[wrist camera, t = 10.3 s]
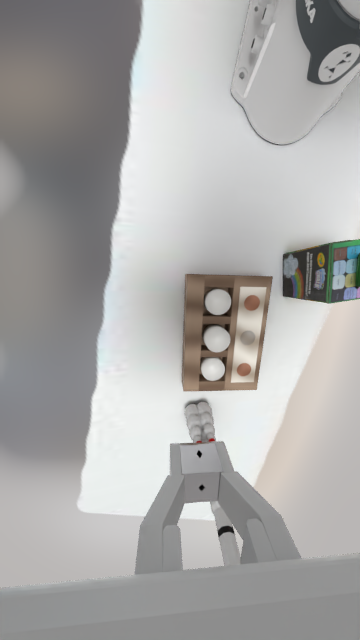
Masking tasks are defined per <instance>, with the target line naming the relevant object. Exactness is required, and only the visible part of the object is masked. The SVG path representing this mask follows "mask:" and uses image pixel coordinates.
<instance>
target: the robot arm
mask: <svg viewBox="0 0 360 640" xmlns="http://www.w3.org/2000/svg"><path fill="white" fill-rule="evenodd" d="M359 70H360V0H250V4H249V9H248V13H247V18H246V22H245V27H244V31H243V35H242V40H241V44H240V49H239V53H238V58H237V62H236V66H235V71H234V75H233V80H232V84H231V93H232V95H233V97H234V98H235V99H236V100H237V101H238V103H239V104H241V105H242V106H243V108H244V110H245V112H246V114H247V116H248V119H249V121H250V123H251V125H252V127H253V128H254V129H255V131H256V132H257V133H258V134H259V135H260V136H261V137H262V138H264V139H265V140H267V141H269V142H272V143H275V144H289V143H293V142H295V141H298V140H299V139H301V138H303V137H304V136H305V135H306V134H308V133H309V132H310V130H311V129H312V128H313V127H314V126H315V124H316V123H317V121H318V120H319V119H320V117H321V116H322V115H323V114H325V113H326V112H328V111H329V110H331V109H332V108H333V107H334V106H335V105H336V104H337V102H338V101H339V100H340V98H341V96H342V91H343V90H344V89H345V87H346V86H347V85H348V84H349V83H350V81H351V80H352V79H353V78H354V77H355V75H356V74H357V73H358V72H359ZM240 77H242V79H241V78H240ZM207 501H218V503H219V505H220V506H221V508H222V509H223V511H224V512H225V514H226V515H227V517H228V518H229V520H230V521H231V523H232V524H233V526H234V527H235V528H236V530H237V532H238V533H239V535H240V536H241V538H242V539H243V547H242V554H241V560H240V564H239V565H229V566H219V567H209V568H198V569H190V570H189V569H188V570H183V569H182V553H181V535H180V528H179V527H178V526H177V523H178V520H179V517H180V515H181V512H182V509H183V506H184V503H193V502H207ZM0 640H360V553H353V554H342V555H333V556H322V557H312V558H301V556H300V554H299V552H298V550H297V548H296V546H295V544H294V541H293V539H292V537H291V535H290V533H289V531H288V529H287V527H286V525H285V523H284V521H283V519H282V517H281V515H280V514H279V513H278V512H277V511H276V510H275V509H274V508H273V507H272V506H271V505H270V504H269V503H268V502H267V501H266V500H265V499H264V498H263V497H262V496H261V495H260V494H259V493H258V492H257V491H256V490H255V489H254V488H253V487H252V486H251V485H250V484H249V483H248V482H247V481H246V480H245V479H244V478H243V477H242V476H241V475H240V474H239V473H238V472H234V469H233V466H232V463H231V461H230V458H229V455H228V452H227V449H226V446H225V444H224V442H223V441H221V442H200V443H173V444H170V475H168V476H167V478H166V480H165V482H164V483H163V485H162V487H161V489H160V491H159V493H158V494H157V496H156V498H155V500H154V502H153V503H152V505H151V507H150V509H149V511H148V513H147V514H146V516H145V518H144V520H143V522H142V524H141V525H140V531H139V541H138V549H137V558H136V567H135V575H127V576H117V577H108V578H97V579H87V580H76V581H66V582H56V583H47V584H46V583H45V584H35V585H25V586H15V587H5V588H0Z"/></svg>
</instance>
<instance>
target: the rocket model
mask: <svg viewBox="0 0 360 640" xmlns="http://www.w3.org/2000/svg"><path fill="white" fill-rule="evenodd" d="M185 416H186V419H187V427H188V429H189V435H190V437H191V439H192V440H193V443H200V442H216V439H215V436H214V435H215V429H214V426H213V424H214V421H213V417H212V409H211V407H210V406H209V404H207V403H206V402H200V403H199V404H197V405H196V404H190V405H188V406H187V407H186V409H185ZM210 504H211V510H212V513H213V514H214V516H215V521H216V526H217V531H218V536H219V541H220V545H221V551H222V556H223V561H224V566H229V565H239V564H240V560H241V557H240V553H239V549H238V545H237V542H236V538H235V534H234V530H233V526H232V523H231V521H230V520H229V518H228V517H227V515H226V514H225V512H224V511H223V509H222V508H221V506H220V505H219V503H218V501H210Z"/></svg>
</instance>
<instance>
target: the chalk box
mask: <svg viewBox="0 0 360 640" xmlns="http://www.w3.org/2000/svg"><path fill="white" fill-rule="evenodd" d="M283 257H284V258H283V259H284V260H283V261H284V262H283V296H285V297H291V298H298V299H304V300H311V301H317V302H324V303H328V304H329V303H335V302H342V301H349V300H355V299H360V239H359V240H347V241H340V242H333V243H328V244H324V245H320V246H315V247H311V248H307V249H303V250H298V251H294V252H290V253H286V254H284V256H283Z"/></svg>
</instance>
